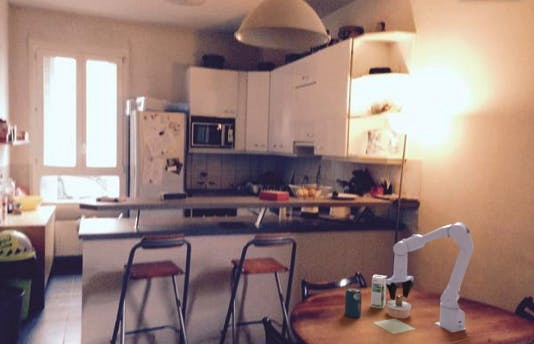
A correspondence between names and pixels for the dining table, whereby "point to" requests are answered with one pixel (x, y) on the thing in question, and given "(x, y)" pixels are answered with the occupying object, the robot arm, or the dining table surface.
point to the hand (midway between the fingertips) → (398, 298)
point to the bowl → (398, 313)
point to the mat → (394, 326)
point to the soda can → (353, 302)
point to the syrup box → (378, 291)
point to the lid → (398, 304)
